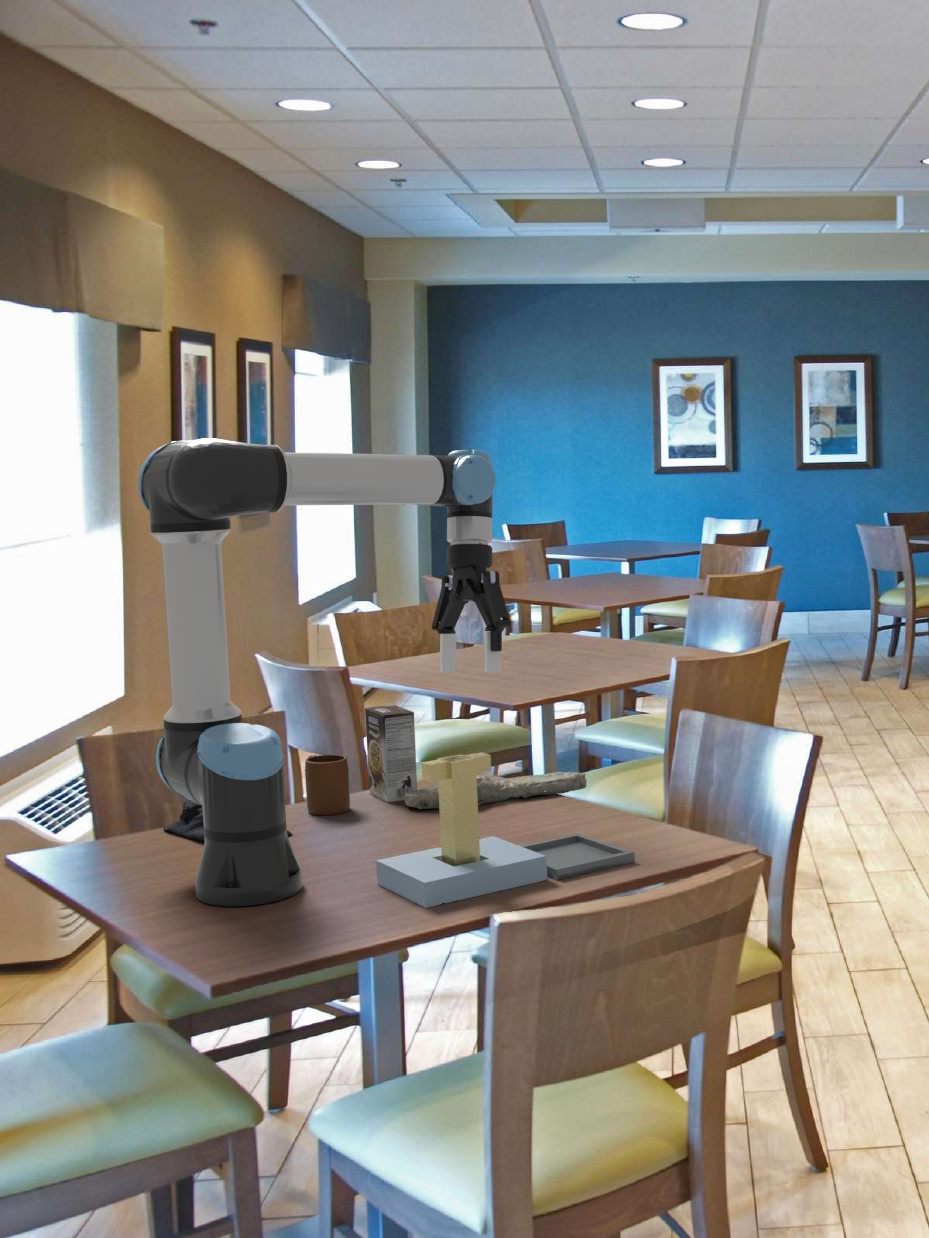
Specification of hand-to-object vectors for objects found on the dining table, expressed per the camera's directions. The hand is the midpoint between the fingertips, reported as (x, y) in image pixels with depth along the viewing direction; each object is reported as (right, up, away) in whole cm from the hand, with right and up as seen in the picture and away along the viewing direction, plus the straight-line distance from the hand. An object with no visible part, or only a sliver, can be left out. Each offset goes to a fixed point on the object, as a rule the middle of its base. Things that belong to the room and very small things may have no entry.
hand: (469, 672), depth 227 cm
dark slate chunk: (-41, -28, +4) cm, 49 cm away
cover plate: (-1, -29, -31) cm, 42 cm away
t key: (-1, -29, -31) cm, 42 cm away
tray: (+15, -27, -22) cm, 38 cm away
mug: (-26, -25, +18) cm, 40 cm away
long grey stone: (+5, -24, +20) cm, 31 cm away
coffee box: (-14, -24, +25) cm, 37 cm away
